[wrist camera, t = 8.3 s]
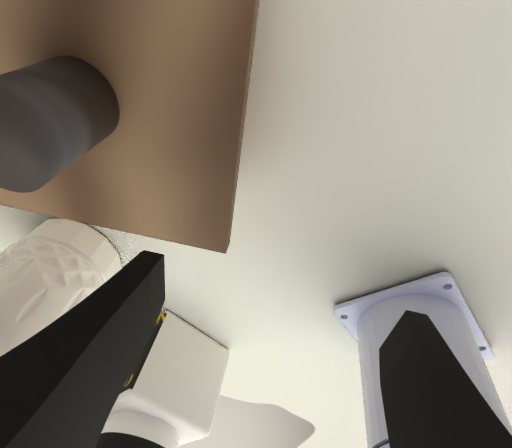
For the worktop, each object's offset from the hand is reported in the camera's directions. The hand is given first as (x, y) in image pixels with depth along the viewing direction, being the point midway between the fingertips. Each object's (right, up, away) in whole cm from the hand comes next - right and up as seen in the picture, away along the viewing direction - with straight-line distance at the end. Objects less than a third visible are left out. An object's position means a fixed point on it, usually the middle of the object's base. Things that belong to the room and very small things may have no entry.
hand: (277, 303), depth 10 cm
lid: (-7, +7, +3) cm, 11 cm away
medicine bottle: (-8, -8, +21) cm, 24 cm away
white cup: (-14, 0, +15) cm, 21 cm away
